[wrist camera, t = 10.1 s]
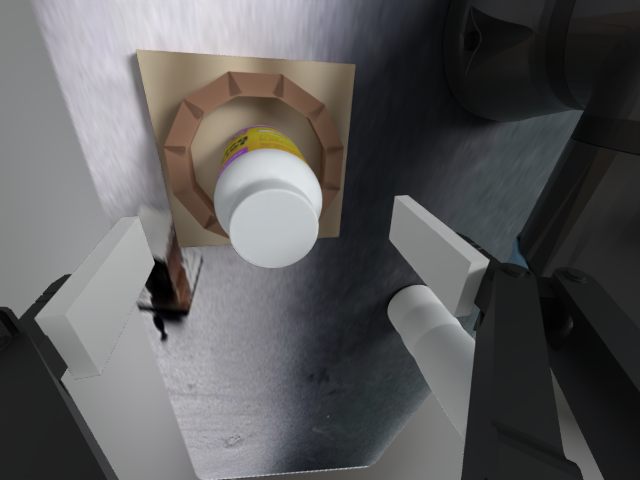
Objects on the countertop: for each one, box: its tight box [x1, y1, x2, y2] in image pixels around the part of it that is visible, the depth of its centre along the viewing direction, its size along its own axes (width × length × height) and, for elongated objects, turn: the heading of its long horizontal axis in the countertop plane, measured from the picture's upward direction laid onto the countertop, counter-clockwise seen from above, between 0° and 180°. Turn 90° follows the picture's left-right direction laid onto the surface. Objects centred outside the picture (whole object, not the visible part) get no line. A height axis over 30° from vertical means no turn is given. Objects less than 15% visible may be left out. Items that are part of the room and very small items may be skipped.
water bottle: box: [388, 285, 475, 446], centre depth 30 cm, size 7×7×25 cm
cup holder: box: [136, 49, 355, 248], centre depth 25 cm, size 16×16×3 cm
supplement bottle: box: [214, 125, 322, 268], centre depth 21 cm, size 7×7×13 cm
